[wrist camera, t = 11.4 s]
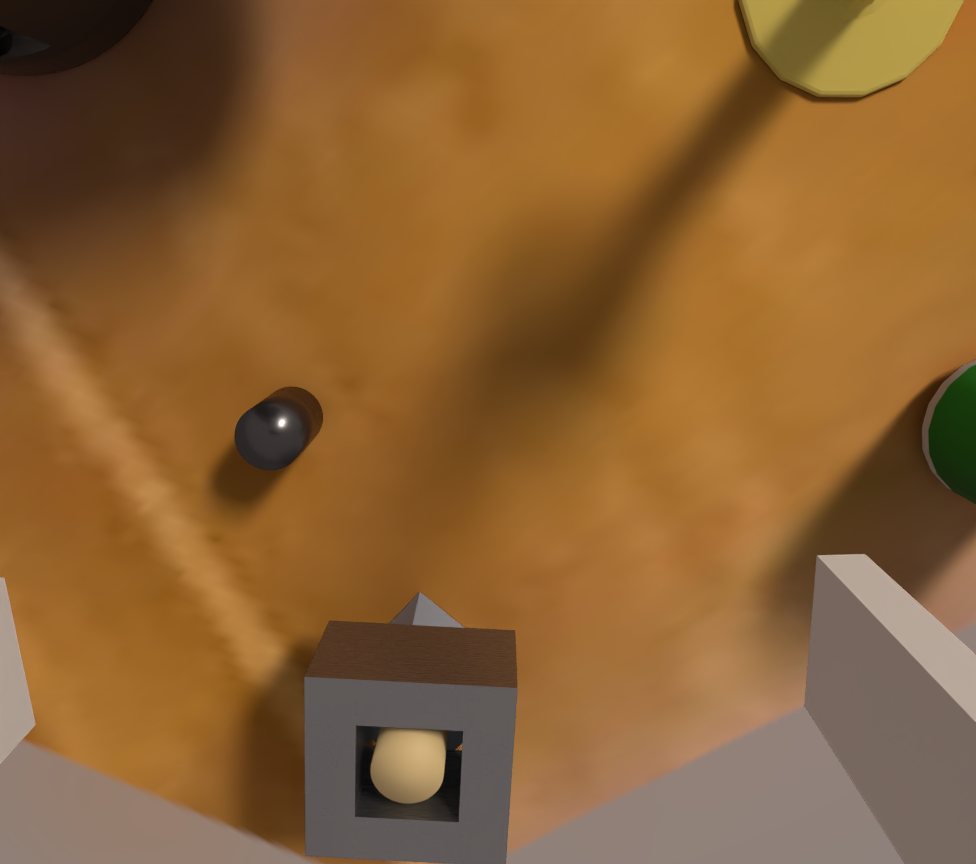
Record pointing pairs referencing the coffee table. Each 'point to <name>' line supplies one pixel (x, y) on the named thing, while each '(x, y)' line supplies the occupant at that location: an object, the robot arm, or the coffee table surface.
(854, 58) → the candle
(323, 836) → the grey hollow block
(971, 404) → the soda can
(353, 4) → the coffee table surface
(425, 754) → the blue-gray block
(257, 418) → the ball
